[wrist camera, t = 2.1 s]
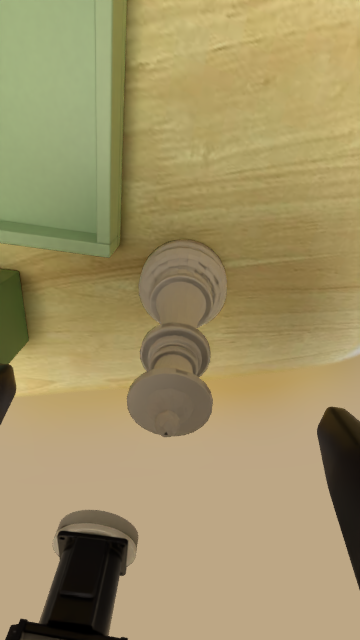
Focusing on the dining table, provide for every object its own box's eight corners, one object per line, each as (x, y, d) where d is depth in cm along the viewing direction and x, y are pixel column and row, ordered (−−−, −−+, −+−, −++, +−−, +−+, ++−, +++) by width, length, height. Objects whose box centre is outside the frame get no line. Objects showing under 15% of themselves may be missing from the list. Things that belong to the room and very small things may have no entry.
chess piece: (149, 319, 18) (100, 489, 9) (135, 242, 15) (53, 367, 7) (227, 313, 17) (256, 487, 8) (224, 234, 15) (258, 355, 6)
